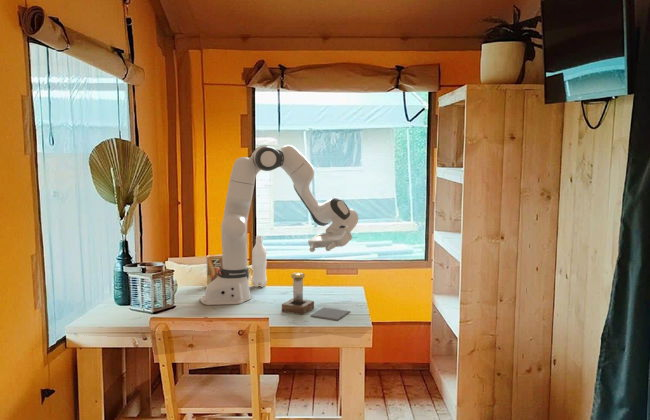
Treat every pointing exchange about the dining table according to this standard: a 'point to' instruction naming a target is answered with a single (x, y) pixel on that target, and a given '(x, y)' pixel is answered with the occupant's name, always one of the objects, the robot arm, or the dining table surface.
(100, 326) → the dining table surface
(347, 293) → the dining table surface
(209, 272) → the candy box
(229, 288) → the robot arm
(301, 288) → the steel peg
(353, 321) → the dining table surface
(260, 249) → the water bottle
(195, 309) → the dining table surface
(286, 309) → the socket block
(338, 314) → the rubber mat
